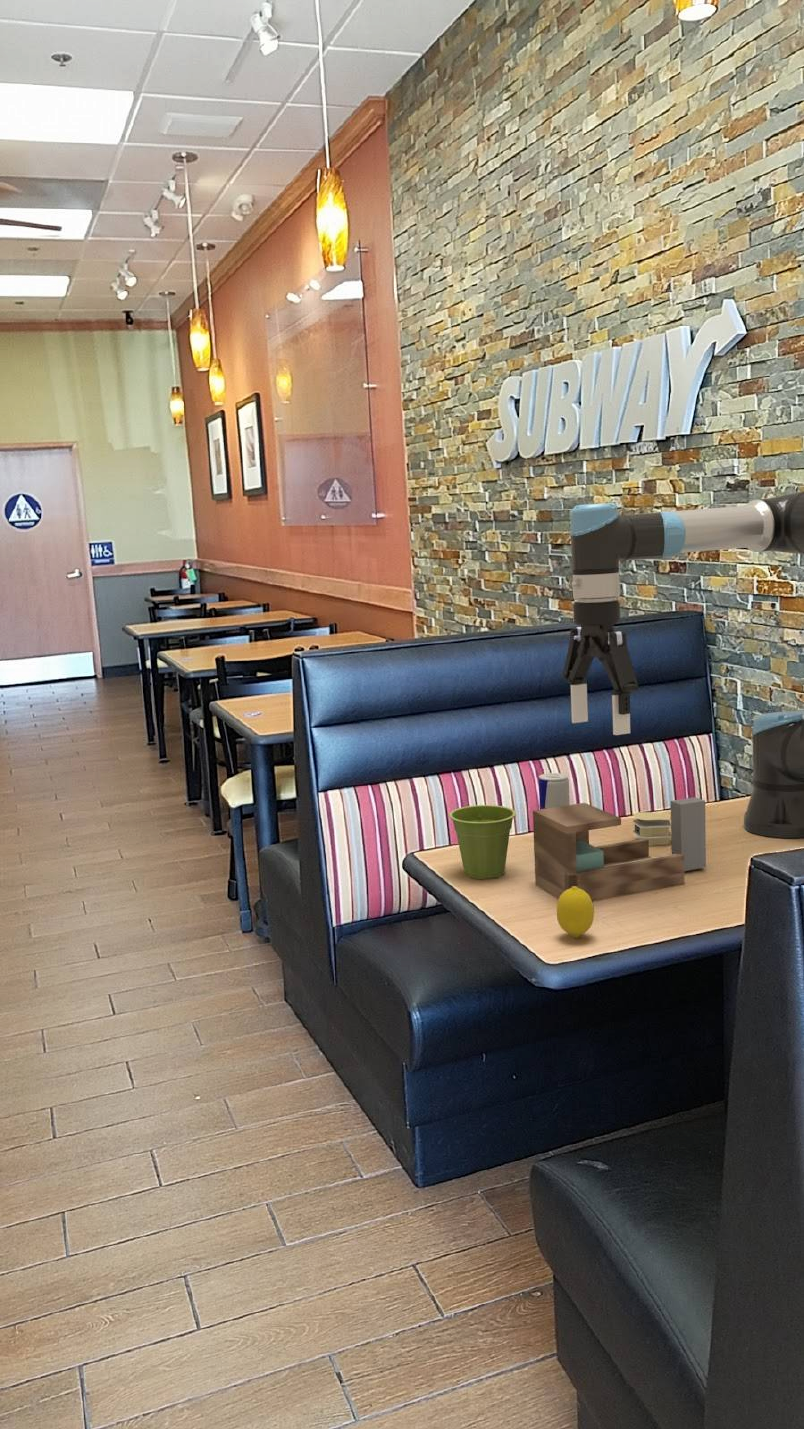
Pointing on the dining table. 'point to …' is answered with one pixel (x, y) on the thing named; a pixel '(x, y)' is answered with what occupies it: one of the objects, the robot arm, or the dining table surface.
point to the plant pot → (483, 838)
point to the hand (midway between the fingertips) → (600, 727)
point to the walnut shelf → (559, 858)
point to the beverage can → (553, 790)
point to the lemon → (575, 911)
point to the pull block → (684, 837)
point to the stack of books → (652, 827)
